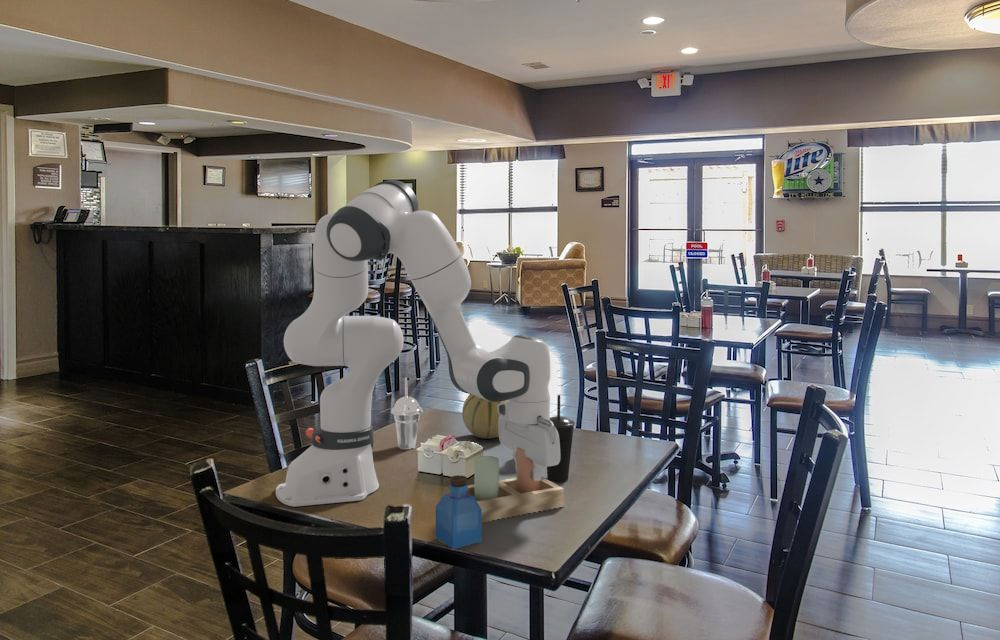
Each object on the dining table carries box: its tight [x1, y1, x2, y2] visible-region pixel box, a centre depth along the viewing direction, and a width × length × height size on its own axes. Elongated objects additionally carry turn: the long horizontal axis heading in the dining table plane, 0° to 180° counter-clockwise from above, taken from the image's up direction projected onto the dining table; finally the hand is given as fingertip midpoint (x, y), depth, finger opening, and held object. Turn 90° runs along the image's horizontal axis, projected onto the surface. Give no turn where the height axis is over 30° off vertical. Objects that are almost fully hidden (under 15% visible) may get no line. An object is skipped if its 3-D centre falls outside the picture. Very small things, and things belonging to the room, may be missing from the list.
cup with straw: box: [390, 376, 424, 450], centre depth 202 cm, size 8×9×20 cm
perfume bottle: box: [435, 475, 483, 550], centre depth 141 cm, size 6×6×12 cm
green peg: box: [474, 455, 500, 501], centre depth 156 cm, size 5×5×11 cm
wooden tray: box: [466, 475, 565, 524], centre depth 159 cm, size 21×11×4 cm, turn 118°
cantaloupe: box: [461, 394, 508, 440], centre depth 213 cm, size 15×15×15 cm
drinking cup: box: [546, 394, 576, 483], centre depth 177 cm, size 8×8×20 cm
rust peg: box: [515, 447, 540, 493], centre depth 161 cm, size 5×5×11 cm
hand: (528, 475), depth 161 cm, fingers open, 5 cm apart
